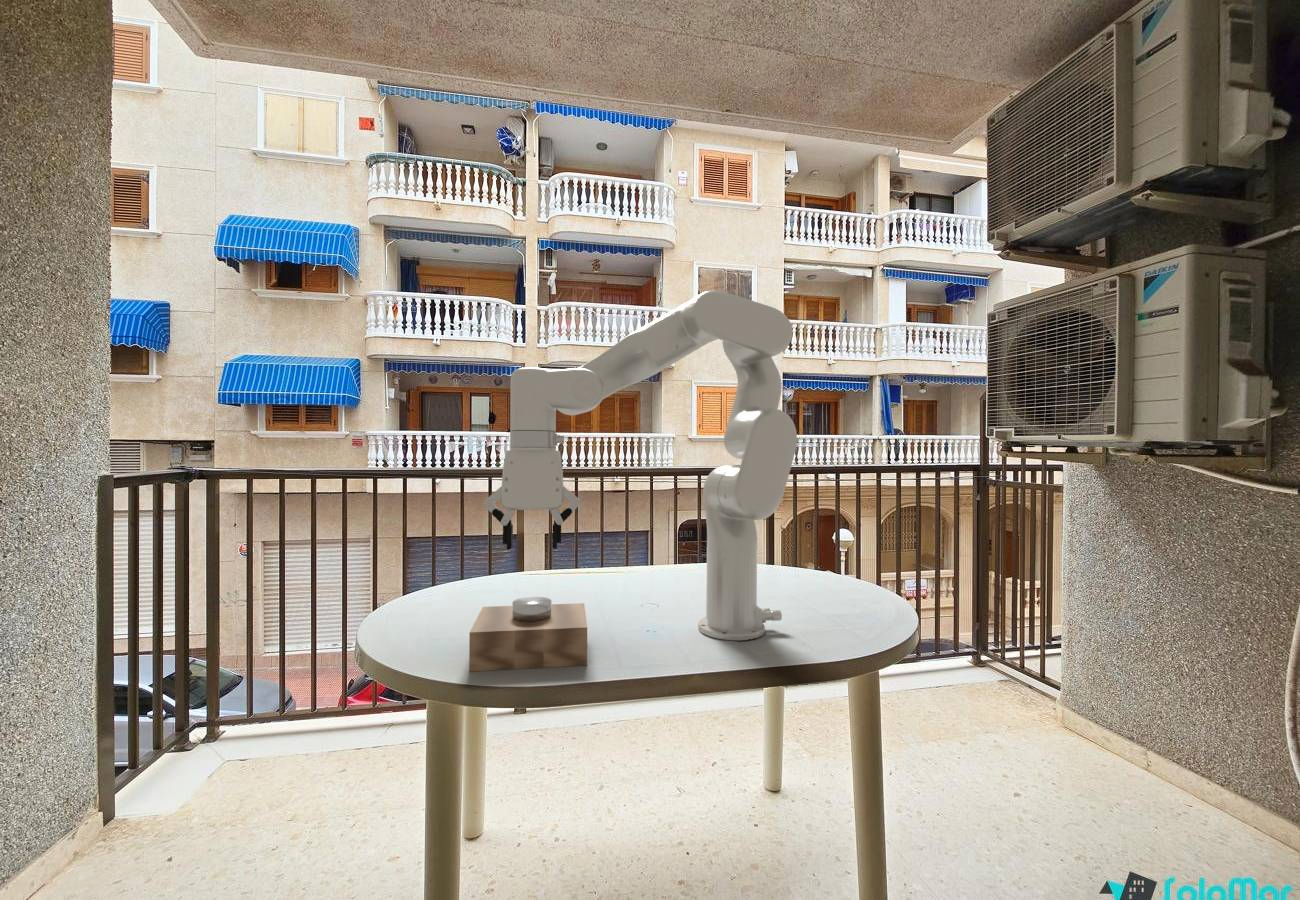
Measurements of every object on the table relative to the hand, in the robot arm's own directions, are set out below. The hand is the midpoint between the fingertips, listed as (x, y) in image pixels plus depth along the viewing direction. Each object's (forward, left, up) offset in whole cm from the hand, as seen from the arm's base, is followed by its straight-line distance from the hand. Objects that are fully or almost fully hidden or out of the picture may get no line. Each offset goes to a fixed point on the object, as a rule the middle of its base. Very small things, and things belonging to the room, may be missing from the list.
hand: (532, 547), depth 93 cm
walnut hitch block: (0, 0, -18) cm, 18 cm away
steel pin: (0, 0, -17) cm, 17 cm away
